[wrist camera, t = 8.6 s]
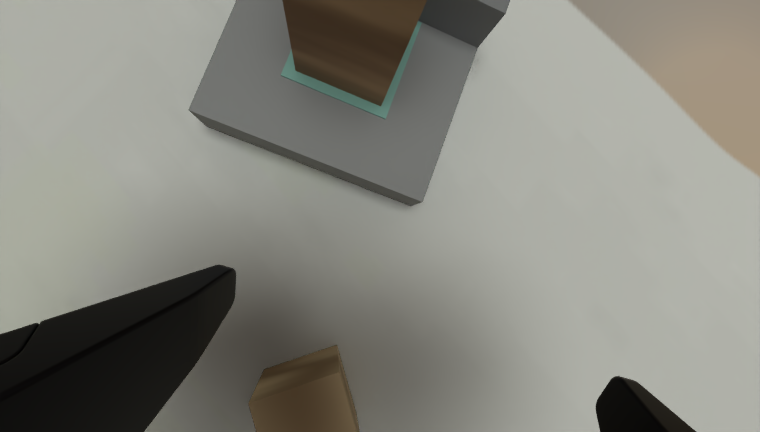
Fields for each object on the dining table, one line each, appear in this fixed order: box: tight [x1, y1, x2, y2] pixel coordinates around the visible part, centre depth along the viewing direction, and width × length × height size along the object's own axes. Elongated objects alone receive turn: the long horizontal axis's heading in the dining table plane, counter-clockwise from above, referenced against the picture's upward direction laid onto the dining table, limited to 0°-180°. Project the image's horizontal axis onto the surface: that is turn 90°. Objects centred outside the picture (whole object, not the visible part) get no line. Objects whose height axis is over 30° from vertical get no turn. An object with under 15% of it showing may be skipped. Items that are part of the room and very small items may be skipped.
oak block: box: [249, 345, 359, 432], centre depth 17 cm, size 4×4×4 cm
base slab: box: [189, 0, 510, 206], centre depth 18 cm, size 12×12×6 cm
